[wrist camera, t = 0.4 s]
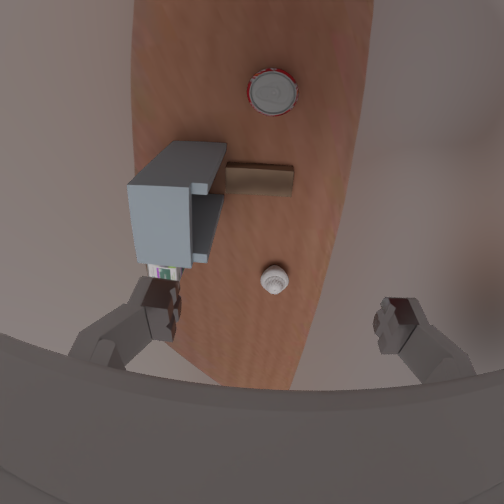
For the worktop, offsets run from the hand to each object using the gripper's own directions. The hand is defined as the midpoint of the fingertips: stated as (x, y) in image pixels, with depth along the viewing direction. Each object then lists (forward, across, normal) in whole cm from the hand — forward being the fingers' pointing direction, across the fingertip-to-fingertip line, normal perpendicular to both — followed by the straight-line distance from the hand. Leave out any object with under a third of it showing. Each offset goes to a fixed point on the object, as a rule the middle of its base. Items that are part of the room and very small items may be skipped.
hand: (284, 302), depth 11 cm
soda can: (+45, 0, -5) cm, 46 cm away
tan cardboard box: (+46, 0, +12) cm, 47 cm away
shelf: (+45, +12, +12) cm, 48 cm away
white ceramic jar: (+46, -5, +34) cm, 57 cm away
